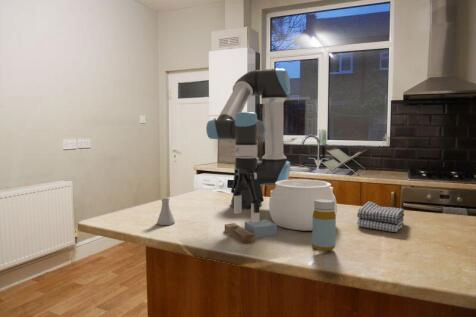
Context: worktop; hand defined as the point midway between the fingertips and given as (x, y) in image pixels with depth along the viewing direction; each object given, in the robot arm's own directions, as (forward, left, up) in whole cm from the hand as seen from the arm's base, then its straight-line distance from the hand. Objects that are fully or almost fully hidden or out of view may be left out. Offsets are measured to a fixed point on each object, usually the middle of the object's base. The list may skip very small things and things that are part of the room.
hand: (246, 217), depth 117 cm
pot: (-27, -4, -7) cm, 28 cm away
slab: (-1, 0, -5) cm, 5 cm away
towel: (-54, +11, -7) cm, 56 cm away
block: (+3, 0, -6) cm, 7 cm away
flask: (+22, -28, -7) cm, 36 cm away
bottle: (-16, +22, -7) cm, 28 cm away
